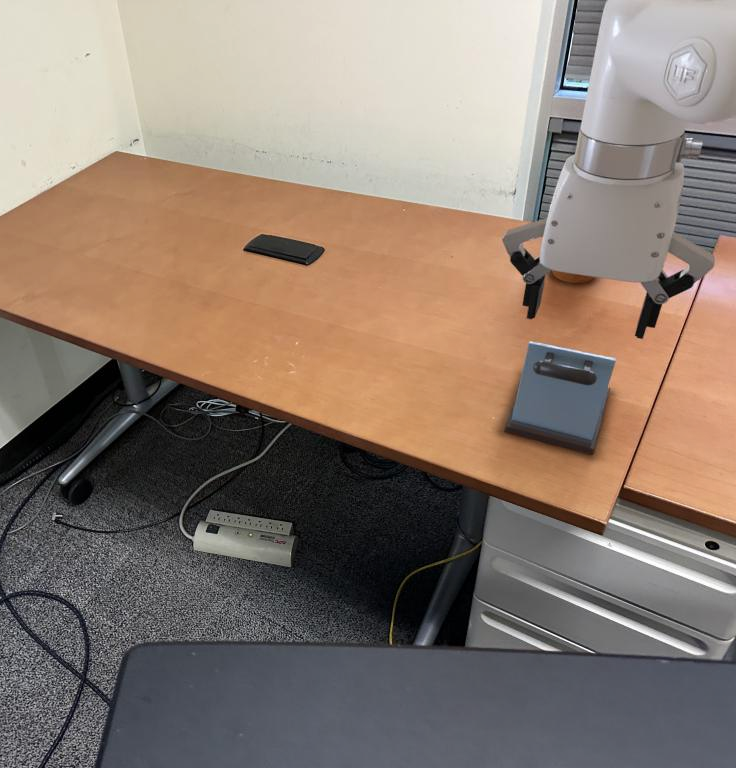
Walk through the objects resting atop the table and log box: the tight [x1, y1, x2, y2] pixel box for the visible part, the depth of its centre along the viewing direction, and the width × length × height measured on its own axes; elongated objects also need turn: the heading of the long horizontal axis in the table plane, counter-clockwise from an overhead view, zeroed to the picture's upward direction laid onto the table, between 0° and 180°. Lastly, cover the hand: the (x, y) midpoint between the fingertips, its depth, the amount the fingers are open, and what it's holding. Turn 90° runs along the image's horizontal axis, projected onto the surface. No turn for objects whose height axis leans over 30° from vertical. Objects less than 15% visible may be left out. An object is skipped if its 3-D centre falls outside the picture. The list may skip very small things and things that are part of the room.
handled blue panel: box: [512, 340, 617, 440], centre depth 78 cm, size 11×9×5 cm
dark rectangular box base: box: [504, 386, 611, 456], centre depth 86 cm, size 12×10×2 cm
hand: (585, 321), depth 68 cm, fingers open, 9 cm apart
